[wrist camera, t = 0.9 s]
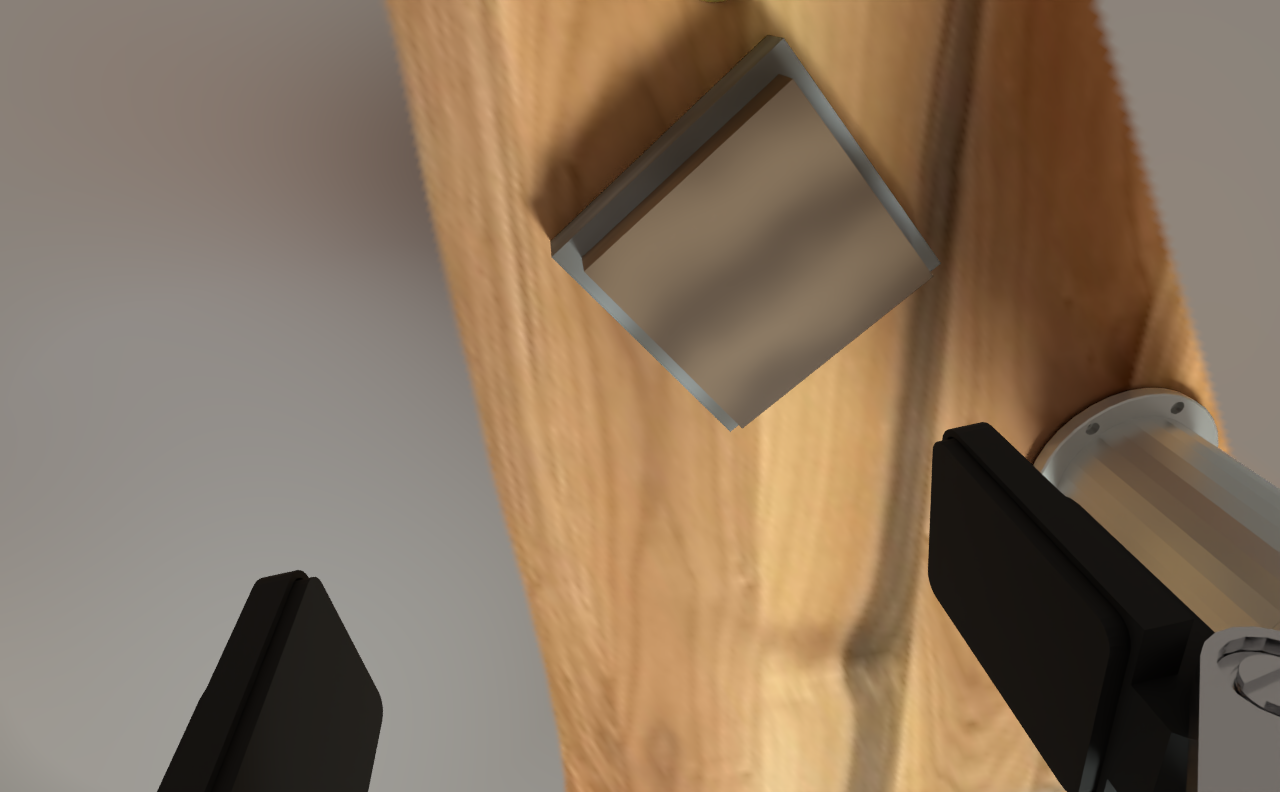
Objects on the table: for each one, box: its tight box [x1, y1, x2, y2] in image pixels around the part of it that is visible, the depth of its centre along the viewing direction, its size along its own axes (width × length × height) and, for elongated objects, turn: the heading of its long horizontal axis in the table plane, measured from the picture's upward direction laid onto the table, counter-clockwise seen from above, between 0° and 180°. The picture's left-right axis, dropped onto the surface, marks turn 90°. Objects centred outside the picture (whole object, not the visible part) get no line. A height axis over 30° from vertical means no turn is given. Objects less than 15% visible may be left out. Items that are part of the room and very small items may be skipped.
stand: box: [550, 35, 941, 432], centre depth 37 cm, size 14×14×4 cm
